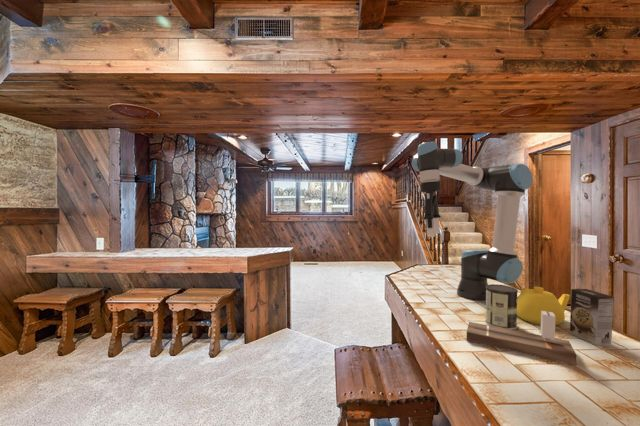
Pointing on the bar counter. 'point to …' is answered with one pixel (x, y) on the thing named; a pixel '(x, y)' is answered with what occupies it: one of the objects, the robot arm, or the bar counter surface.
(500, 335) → the brown slab
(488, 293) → the coffee can
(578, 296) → the cookie box
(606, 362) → the bar counter surface
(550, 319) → the fader
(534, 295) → the teapot
